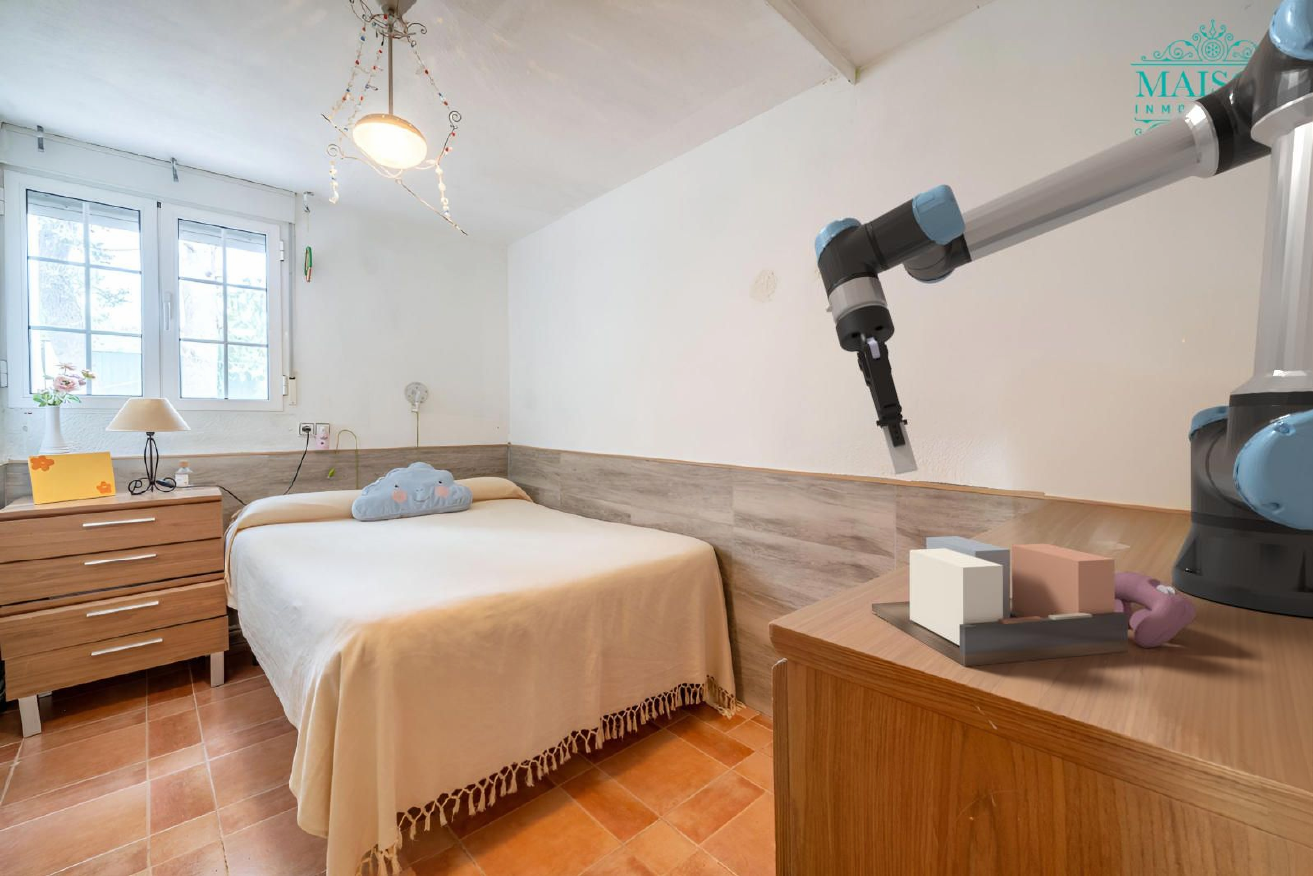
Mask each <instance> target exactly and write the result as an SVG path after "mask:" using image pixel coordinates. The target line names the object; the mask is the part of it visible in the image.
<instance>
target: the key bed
mask: <svg viewBox="0 0 1313 876" xmlns="http://www.w3.org/2000/svg"><path fill="white" fill-rule="evenodd" d="M872 611H873V612H875V613H876V614H878V615H879V616H881V617H882V618H884V619H885V620H886V621H885V620H884V619H883V620H884V621H885V622H887V621H888V622H887V623H889V624H890V623H891V624H890V625H892V624H893V625H892V626H894V627H896V628H897V627H898V629H900V630H901V631H903V632H905V633H906V634H908V635H909V636H912V637H913V638H914V639H917V640H918V641H920V642H921V643H924V644H925V645H927V646H929V647H930V648H932V649H934V650H936V651H937V652H939V653H941V654H943V655H944V656H946V657H948V658H949V659H951V660H953V661H955V662H957V663H958V664H960V665H962V666H964V667H974V666H985V665H986V666H987V665H994V664H995V665H996V664H1004V663H1005V664H1006V663H1015V662H1016V663H1017V662H1018V663H1019V662H1028V661H1035V660H1037V661H1038V660H1040V661H1041V660H1049V659H1058V658H1059V659H1060V658H1069V657H1072V658H1073V657H1082V656H1090V655H1092V656H1093V655H1101V654H1111V653H1113V654H1114V653H1123V652H1129V643H1128V641H1129V640H1128V639H1129V631H1128V630H1129V627H1128V625H1129V623H1128V614H1126V613H1122V612H1114V613H1101V614H1088V613H1073V614H1059V615H1048V618H1040V617H1038V616H1033V617H1025V616H1022V615H1020V614H1017V613H1015V612H1012V597H1010V618H1007V619H998V621H997V622H984V623H972V624H960V646H959V645H958V644H956V643H954V642H952V641H950V640H948V639H946V638H944V637H943V636H941V635H939V634H937V633H935V632H933V631H931V630H929V629H927V628H926V627H924V626H922V625H920V624H918V623H916V622H914V621H912V620H911V619H910V600H909V601H894V602H880V603H878V602H877V603H871V612H872ZM882 618H881V619H882Z"/></svg>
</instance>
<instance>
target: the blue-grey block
mask: <svg viewBox="0 0 1313 876" xmlns="http://www.w3.org/2000/svg"><path fill="white" fill-rule="evenodd" d="M925 539H926V541H925V542H926V543H925V544H926V545H925V546H926V547H925V548H926V549H941V548H945V549H949V550H952V551H955V552H959V553H962V554H966V555H969V556H972V557H976V558H979V559H983V560H986V561H989V562H993V563H996V564H1000V565H1003V619H1007V618H1010V598H1011V549H1010V548H1006V547H1001V546H998V545H994V544H991V543H990V544H989V543H986V542H982V541H977V540H974V539H969V538H966V537H961V536H958V535H952V536H950V535H949V536H931V537H930V536H928V537H926V538H925Z"/></svg>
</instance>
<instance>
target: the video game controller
mask: <svg viewBox="0 0 1313 876" xmlns="http://www.w3.org/2000/svg"><path fill="white" fill-rule="evenodd" d="M1131 603H1132V604H1133V603H1134V604H1137V605H1140V606H1142V607H1144V608H1141V609H1138V610H1137V611H1135V612H1134V613H1133V609H1132V607H1131V606H1132V604H1131ZM1196 611H1197V610H1196V607H1195V605H1194V602H1193V601H1192V600H1190V598H1188V597H1186V596H1185V595H1183V594H1181V593H1180V592H1179V590H1178V589H1177V590H1176V588H1175V587H1173V586H1171V585H1169V584H1167V583H1166V582H1163V581H1162V580H1159V579H1156V578H1154V577H1151V576H1148V575H1145V574H1140V573H1136V572H1133V571H1127V570H1126V571H1121V572H1119V571H1115V612H1122V613H1126V614H1128V624H1129V626H1130V628H1131V629H1132V630H1133V631H1134V633H1133V639H1134V642H1135V643H1136V644H1137V645H1138V646H1140V647H1142V648H1144V649H1147V648H1148V649H1149V648H1156V647H1159V646H1162V645H1164V644H1166V643H1167V642H1169V641H1170V640H1172V639H1173V638H1174V637H1176V635H1177V634H1178V633H1179V632H1180V631H1181V630H1182V629H1183V628H1184V627H1186V626H1188V625H1190V624H1191V623H1193V620H1194V618H1195V616H1196V613H1197V612H1196Z"/></svg>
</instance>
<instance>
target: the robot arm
mask: <svg viewBox="0 0 1313 876" xmlns="http://www.w3.org/2000/svg"><path fill="white" fill-rule="evenodd" d="M1271 18H1272V19H1271V21H1270V23H1269V26H1268V29H1267V31H1266V32H1265V34H1264V36H1263V37H1262V38H1261V40H1260V42H1259V43H1258V46H1257V47H1256V49H1255V50H1254V52H1253V54H1252V55H1251V57H1250V59H1249V60H1248V62H1247V63H1246V65H1245V67H1244V69H1243V70H1242V71H1241V72H1239V73H1238V75H1236V76H1235V77H1233V78H1232V79H1231V80H1230V81H1228V82H1226V83H1225V84H1224V85H1222V86H1221V87H1219V88H1217V89H1216V90H1214V91H1211V92H1210V93H1207V94H1206V95H1204V96H1202V97H1200V98H1198V99H1195V100H1193V101H1191V102H1189V103H1187V104H1186V105H1185V106H1184V108H1183V109H1182V111H1181V112H1180V113H1179V114H1178V115H1177V116H1176V117H1175V118H1172V119H1171V120H1168V121H1167V122H1164V123H1162V124H1159V125H1157V126H1155V127H1153V128H1151V129H1148V130H1146V131H1144V132H1141V133H1139V134H1137V135H1135V136H1133V137H1130V138H1128V139H1125V140H1123V141H1121V142H1119V143H1117V144H1114V145H1112V146H1110V147H1108V148H1106V149H1103V150H1101V151H1099V152H1096V153H1095V154H1093V155H1090V156H1088V157H1085V158H1083V159H1081V160H1079V161H1076V162H1075V163H1072V164H1070V165H1068V166H1065V167H1063V168H1061V169H1058V170H1056V171H1054V172H1052V173H1049V174H1047V175H1045V176H1043V177H1041V178H1039V179H1035V180H1034V181H1032V182H1030V183H1027V184H1024V185H1023V186H1020V187H1018V188H1016V189H1014V190H1011V191H1010V192H1007V193H1005V194H1003V195H1001V196H998V197H996V198H994V199H992V200H989V201H987V202H985V203H982V204H980V205H979V206H975V207H973V208H971V209H969V210H966V211H964V212H962V213H961V210H960V207H959V204H958V202H957V199H956V196H955V193H954V192H953V189H952V188H951V186H950V185H948V184H940V185H937V186H935V187H933V188H931V189H929V190H927V191H925V192H922V193H921V192H920V193H917V194H916V195H915V197H912V198H911V199H909V200H908V201H906V202H903V203H902V204H900V205H898V206H896V207H894V208H893V209H891V210H889V211H887V212H885V213H884V214H881V215H880V216H878V217H876V218H875V219H873V220H870V221H869V222H865V223H863V224H862V222H861V221H860V220H858V219H856V218H854V217H844V218H842V219H841V220H837V219H835V220H833V221H831V222H829V223H828V224H826V225H825V226H824V227H822V228H821V230H820V231H819V232H818V233H817V235H816V236H815V239H814V250H815V255H816V260H817V261H816V262H817V263H816V265H817V268H818V270H819V273H820V276H821V279H822V283H823V286H824V289H825V292H826V296H827V301H828V303H829V305H828V306H826V308H825V311H826V312H827V313H831V315H832V319H833V322H834V324H835V332H836V335H837V339H838V342H839V346H840V348H841V349H842V350H844V351H846V352H849V353H855V352H856V356H857V364H858V367H859V371H861V373H862V375H863V378H864V382H865V385H866V386H867V387H868V388H869V392H870V395H871V398H872V402H873V406H874V408H875V410H876V411H875V412H876V415H877V418H878V420H876V421H875V423H876V426H877V427H880V428H881V430H882V433H883V436H884V437H883V438H884V441H885V444H886V448H887V451H888V454H889V459H890V462H891V466H892V468H893V469H892V470H893V472H894V476H895V475H902V474H906V473H911V472H917V471H918V464H917V461H916V458H915V455H914V451H913V449H912V445H911V442H910V439H909V436H908V435H909V434H908V431H907V428H906V426H907V425H908V419H907V418H905V419H903V418H904V416H903V414H902V411H903V407H902V405H901V404H900V400H899V396H898V393H897V389H896V385H895V382H894V378H893V374H892V366H891V365H892V364H891V363H890V358H889V349H888V346H887V344H886V343H887V342H888V341H889V340H891V338H892V337H893V336H894V334H895V330H896V329H895V324H894V322H893V319H892V316H891V313H890V310H889V309H888V302H887V299H886V295H885V293H884V289H883V287H882V282H881V280H880V278H879V275H880V274H881V273H883V272H886V271H889V270H890V269H893V268H895V267H897V266H899V265H903V268H904V270H905V271H906V273H907V274H908V275H909V276H910V277H911V278H913V279H914V280H915V281H918V282H920V283H922V284H929V285H930V284H936V283H940V282H942V281H944V280H946V279H947V278H948V277H949V276H950V275H951V274H952V273H953V272H954V271H955V270H956V269H957V268H960V267H963V266H964V265H967V264H969V263H972V262H975V261H978V260H981V259H982V258H985V257H989V256H990V255H992V254H995V253H998V252H1000V251H1001V252H1002V251H1003V250H1005V249H1008V248H1010V247H1013V246H1015V245H1019V244H1021V243H1024V242H1026V241H1028V240H1031V239H1033V238H1036V237H1038V236H1041V235H1044V234H1045V233H1049V232H1051V231H1054V230H1056V229H1059V228H1062V227H1064V226H1067V225H1069V224H1072V223H1075V222H1077V221H1079V220H1082V219H1085V218H1088V217H1090V216H1093V215H1096V214H1098V213H1100V212H1103V211H1105V210H1109V209H1110V208H1113V207H1116V206H1118V205H1120V204H1124V203H1125V202H1128V201H1130V200H1133V199H1136V198H1139V197H1141V196H1143V195H1147V194H1148V193H1152V192H1154V191H1156V190H1160V189H1162V188H1165V187H1167V186H1170V185H1173V184H1174V183H1177V182H1180V181H1183V180H1184V179H1187V178H1189V177H1197V178H1201V179H1204V180H1205V179H1206V180H1207V179H1209V178H1212V177H1214V176H1215V177H1216V176H1217V175H1220V174H1222V173H1224V172H1225V173H1226V172H1227V171H1230V170H1233V169H1235V168H1237V167H1241V166H1244V165H1246V164H1249V163H1252V162H1254V161H1256V160H1260V159H1263V158H1265V157H1267V156H1270V162H1269V163H1270V165H1269V174H1268V175H1269V176H1268V188H1267V201H1266V215H1265V226H1264V237H1263V248H1262V249H1263V250H1262V262H1261V263H1262V265H1261V275H1260V285H1259V287H1260V289H1259V298H1258V299H1259V301H1258V310H1257V311H1258V313H1257V325H1256V333H1255V334H1256V337H1255V350H1254V359H1253V361H1254V362H1253V375H1252V376H1251V377H1250V378H1249V379H1248V380H1247V381H1245V382H1244V383H1242V384H1240V385H1239V386H1238V387H1236V388H1235V389H1233V390H1232V391H1230V392H1229V399H1228V405H1220V406H1219V405H1218V406H1213V407H1209V408H1205V409H1203V410H1201V411H1198V412H1197V413H1196V414H1195V415H1193V417H1192V418H1191V424H1190V430H1189V432H1188V440H1189V442H1190V527H1189V531H1188V533H1187V536H1186V537H1185V539H1184V542H1183V543H1182V545H1181V548H1180V549H1179V552H1178V554H1177V557H1176V559H1175V560H1174V563H1173V565H1172V566H1171V585H1172V587H1173V588H1174V589H1177V590H1178V591H1181V592H1184V593H1186V594H1189V595H1192V596H1196V597H1199V598H1202V599H1206V600H1209V601H1213V602H1214V601H1215V602H1219V603H1223V604H1227V605H1231V606H1237V607H1242V608H1246V609H1252V610H1258V611H1264V612H1270V613H1277V614H1283V615H1284V614H1285V615H1292V616H1300V617H1309V618H1310V617H1311V618H1312V617H1313V0H1282V2H1281V3H1280V4H1279V5H1278V7H1277V8H1276V10H1275V12H1274V13H1273V15H1272V17H1271Z"/></svg>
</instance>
